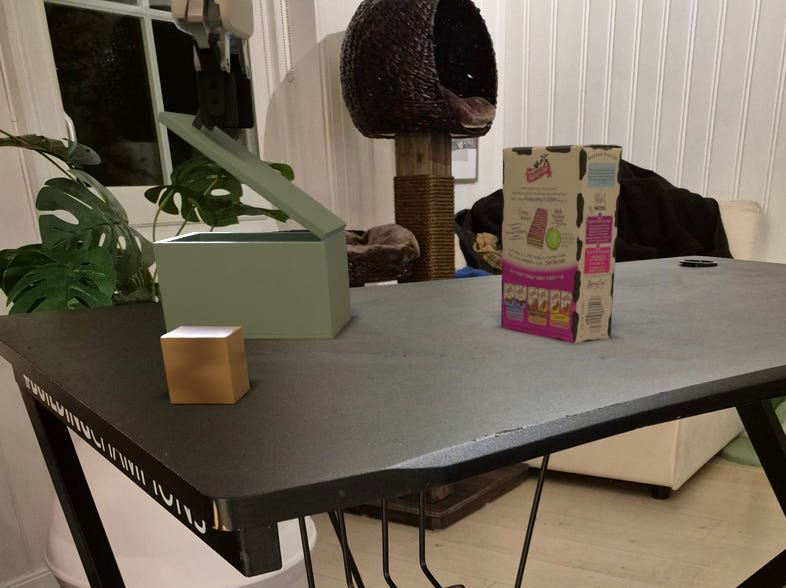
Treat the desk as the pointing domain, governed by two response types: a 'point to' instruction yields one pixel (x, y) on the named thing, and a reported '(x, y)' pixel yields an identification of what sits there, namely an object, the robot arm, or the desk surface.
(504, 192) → the candy bar box
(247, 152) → the lid
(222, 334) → the block
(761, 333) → the desk surface
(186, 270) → the bin
